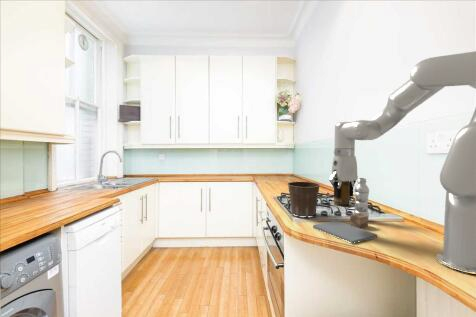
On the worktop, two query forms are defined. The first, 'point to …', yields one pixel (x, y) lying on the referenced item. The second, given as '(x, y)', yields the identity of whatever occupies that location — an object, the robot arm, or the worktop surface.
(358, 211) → the plastic bottle
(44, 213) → the worktop surface
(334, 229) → the slate board
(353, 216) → the walnut block
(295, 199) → the plant pot
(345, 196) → the condiment
